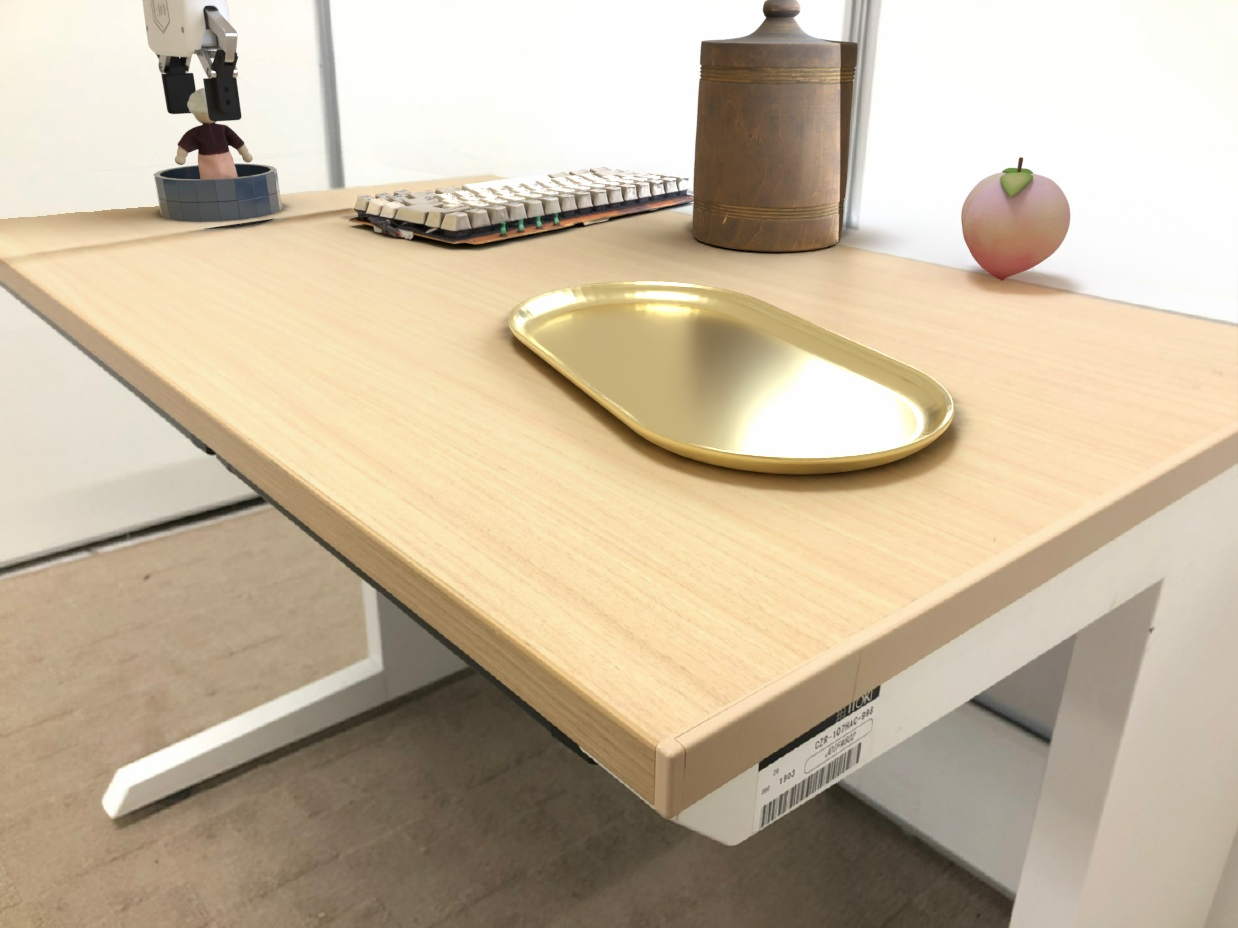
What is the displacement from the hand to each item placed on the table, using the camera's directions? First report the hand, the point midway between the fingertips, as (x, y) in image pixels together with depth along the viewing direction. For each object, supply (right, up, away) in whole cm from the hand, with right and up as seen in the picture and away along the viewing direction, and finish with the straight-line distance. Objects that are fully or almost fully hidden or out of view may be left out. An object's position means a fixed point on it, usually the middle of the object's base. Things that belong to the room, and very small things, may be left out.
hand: (204, 116), depth 103 cm
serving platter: (+49, -31, -41) cm, 71 cm away
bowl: (0, -10, +4) cm, 11 cm away
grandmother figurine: (0, -9, +4) cm, 10 cm away
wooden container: (+58, -14, -4) cm, 60 cm away
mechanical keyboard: (+34, -8, +8) cm, 36 cm away
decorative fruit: (+76, -21, -20) cm, 81 cm away
